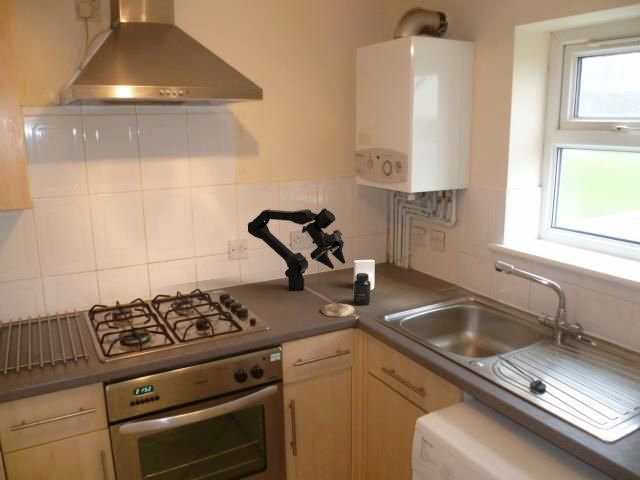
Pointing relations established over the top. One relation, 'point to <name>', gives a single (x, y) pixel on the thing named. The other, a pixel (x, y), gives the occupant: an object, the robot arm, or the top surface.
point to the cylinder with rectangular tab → (365, 269)
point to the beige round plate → (337, 310)
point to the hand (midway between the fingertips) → (339, 265)
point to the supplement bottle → (362, 289)
